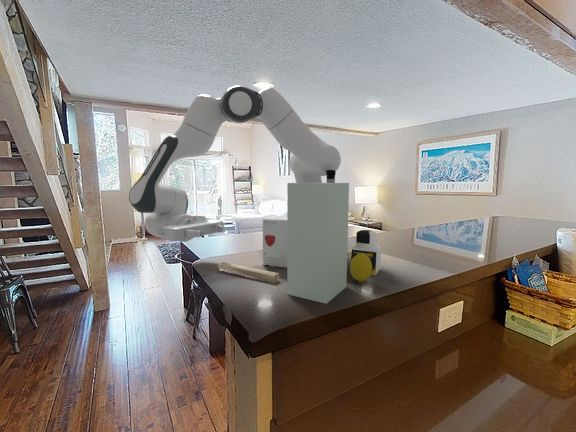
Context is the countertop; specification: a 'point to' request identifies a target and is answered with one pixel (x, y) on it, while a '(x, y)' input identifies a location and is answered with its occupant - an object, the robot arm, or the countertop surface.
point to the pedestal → (317, 240)
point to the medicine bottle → (368, 248)
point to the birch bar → (250, 272)
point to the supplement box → (275, 241)
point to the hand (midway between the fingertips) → (213, 231)
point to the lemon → (361, 267)
